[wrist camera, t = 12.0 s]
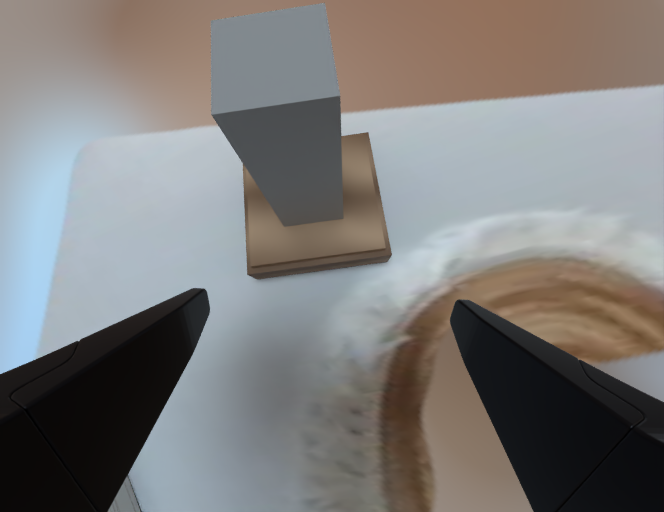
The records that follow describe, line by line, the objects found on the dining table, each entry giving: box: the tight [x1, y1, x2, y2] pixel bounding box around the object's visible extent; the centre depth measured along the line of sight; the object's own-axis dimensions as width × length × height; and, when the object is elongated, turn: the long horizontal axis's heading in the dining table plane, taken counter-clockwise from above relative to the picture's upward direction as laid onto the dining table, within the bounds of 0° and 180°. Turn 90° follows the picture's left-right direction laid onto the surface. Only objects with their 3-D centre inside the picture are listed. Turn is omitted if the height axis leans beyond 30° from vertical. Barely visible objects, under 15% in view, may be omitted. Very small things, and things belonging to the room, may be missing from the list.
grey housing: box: [211, 3, 343, 227], centre depth 16 cm, size 5×5×12 cm
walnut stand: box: [243, 132, 392, 279], centre depth 24 cm, size 12×12×3 cm
